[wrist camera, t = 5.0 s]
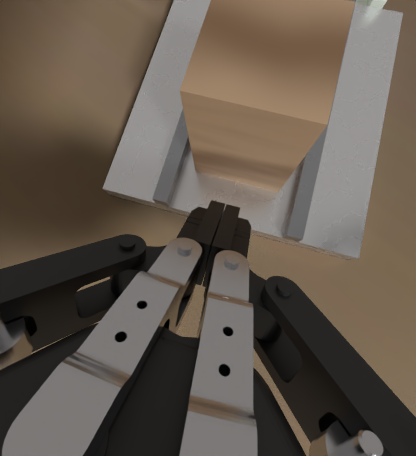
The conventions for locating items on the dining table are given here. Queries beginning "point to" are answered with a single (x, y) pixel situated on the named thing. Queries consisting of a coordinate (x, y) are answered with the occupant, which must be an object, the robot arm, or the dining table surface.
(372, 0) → the tray
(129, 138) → the slot plate
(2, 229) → the dining table surface
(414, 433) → the robot arm
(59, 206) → the dining table surface
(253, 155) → the block
